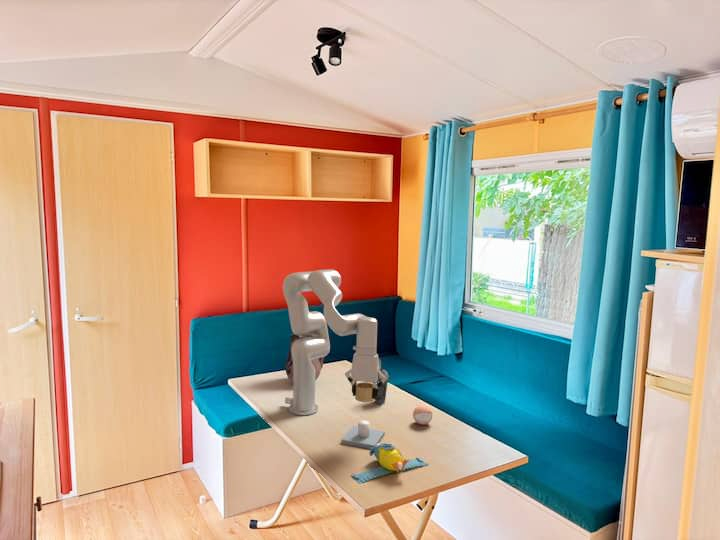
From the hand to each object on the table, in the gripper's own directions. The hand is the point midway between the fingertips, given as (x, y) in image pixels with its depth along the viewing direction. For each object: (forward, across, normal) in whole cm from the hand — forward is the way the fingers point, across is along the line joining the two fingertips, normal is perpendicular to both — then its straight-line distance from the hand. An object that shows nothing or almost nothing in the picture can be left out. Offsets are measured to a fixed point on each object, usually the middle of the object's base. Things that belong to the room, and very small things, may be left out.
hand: (365, 396), depth 189 cm
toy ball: (+17, +18, +23) cm, 34 cm away
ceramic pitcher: (+17, -47, +50) cm, 71 cm away
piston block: (+17, 0, 0) cm, 17 cm away
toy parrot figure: (+18, +15, -18) cm, 29 cm away
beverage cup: (+17, -5, +39) cm, 43 cm away
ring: (+1, 0, 0) cm, 1 cm away
